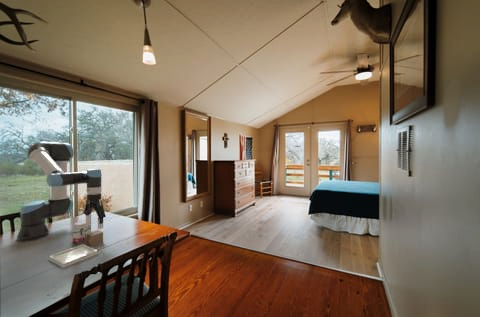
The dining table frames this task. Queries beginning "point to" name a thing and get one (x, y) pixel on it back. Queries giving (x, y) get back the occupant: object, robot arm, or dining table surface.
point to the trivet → (73, 255)
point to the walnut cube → (93, 238)
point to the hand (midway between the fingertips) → (94, 226)
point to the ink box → (80, 231)
